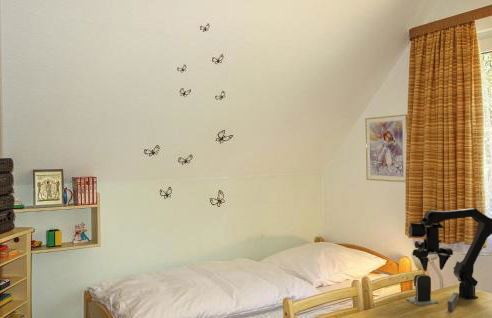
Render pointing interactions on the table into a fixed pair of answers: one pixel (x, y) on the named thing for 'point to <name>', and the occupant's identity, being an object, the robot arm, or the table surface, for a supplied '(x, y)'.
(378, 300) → the table surface
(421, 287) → the battery
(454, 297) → the grey rectangular bar
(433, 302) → the mat
